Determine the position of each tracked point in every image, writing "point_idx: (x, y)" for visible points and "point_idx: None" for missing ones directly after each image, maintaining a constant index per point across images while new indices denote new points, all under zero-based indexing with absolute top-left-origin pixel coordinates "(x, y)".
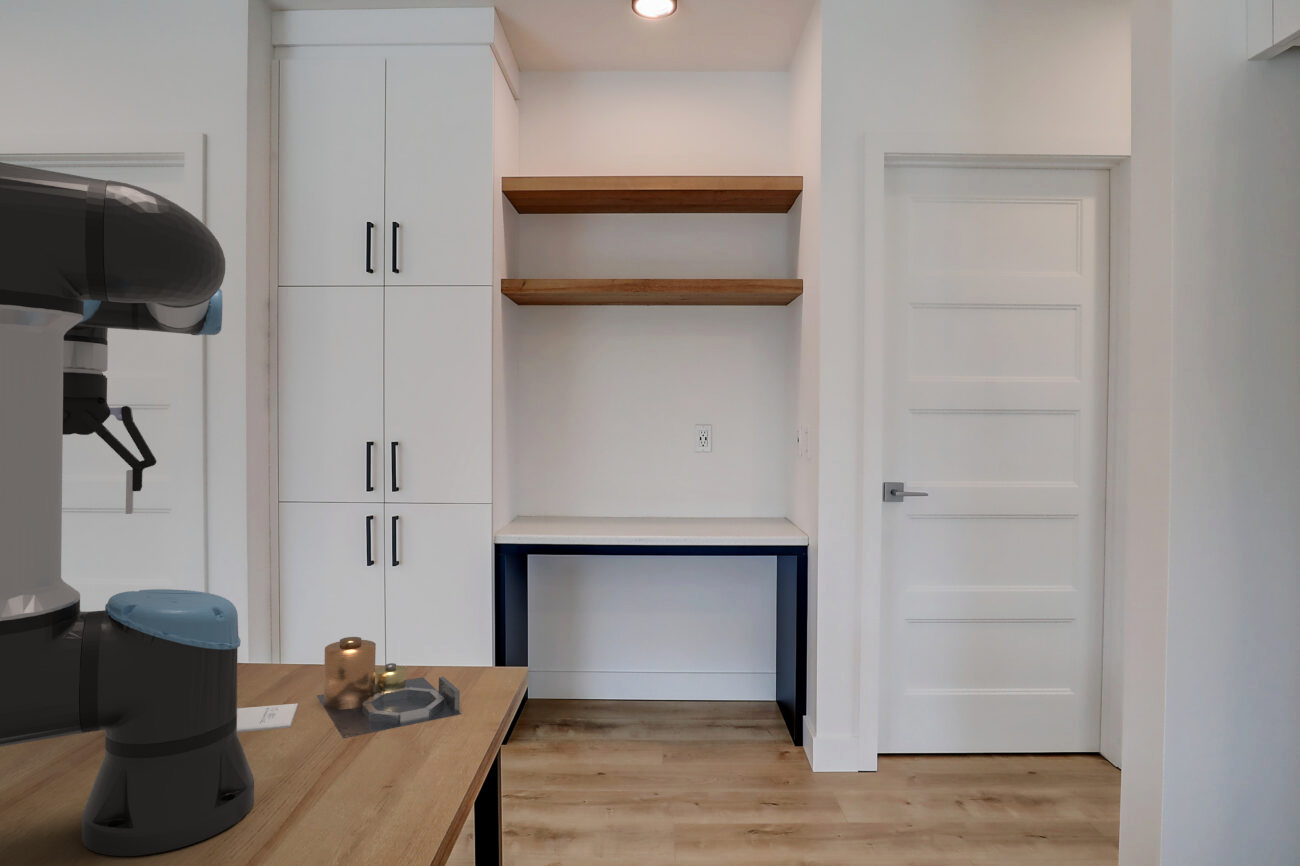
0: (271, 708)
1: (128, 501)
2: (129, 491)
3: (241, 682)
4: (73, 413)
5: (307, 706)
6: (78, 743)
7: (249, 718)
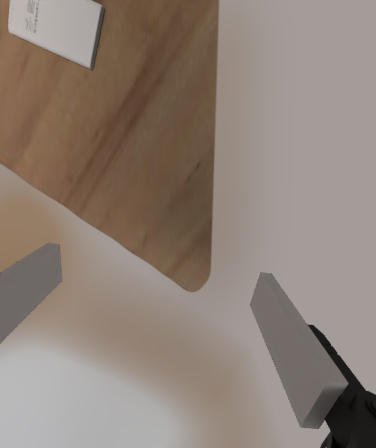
0: (31, 28)
1: (31, 259)
2: (3, 275)
3: (62, 151)
4: None
5: (5, 36)
6: (176, 68)
7: (49, 10)
